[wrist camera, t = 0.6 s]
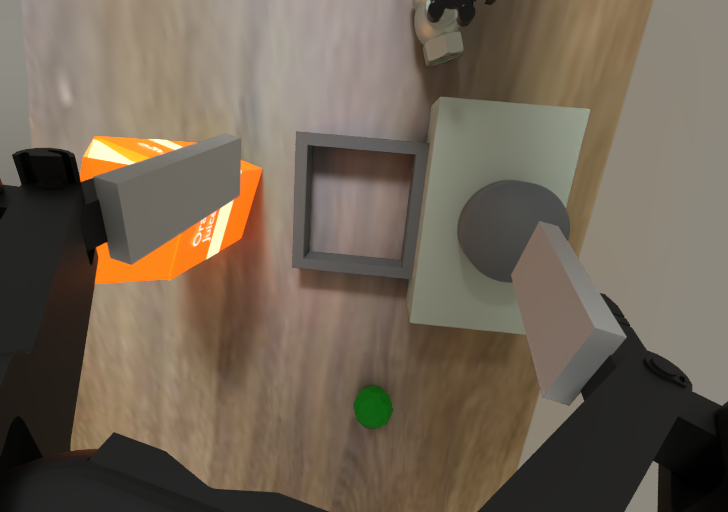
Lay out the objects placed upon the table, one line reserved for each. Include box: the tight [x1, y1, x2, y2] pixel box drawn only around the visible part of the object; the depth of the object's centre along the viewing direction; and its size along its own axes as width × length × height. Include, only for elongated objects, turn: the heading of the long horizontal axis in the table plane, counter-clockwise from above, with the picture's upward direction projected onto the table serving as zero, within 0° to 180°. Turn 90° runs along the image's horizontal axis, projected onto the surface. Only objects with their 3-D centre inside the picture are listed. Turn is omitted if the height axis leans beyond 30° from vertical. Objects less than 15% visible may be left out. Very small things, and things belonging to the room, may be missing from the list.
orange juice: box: [80, 136, 262, 284], centre depth 31 cm, size 8×9×20 cm
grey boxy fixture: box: [292, 97, 590, 335], centre depth 35 cm, size 22×26×9 cm
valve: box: [412, 0, 496, 66], centre depth 29 cm, size 7×7×12 cm
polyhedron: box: [354, 386, 393, 429], centre depth 44 cm, size 5×5×5 cm
